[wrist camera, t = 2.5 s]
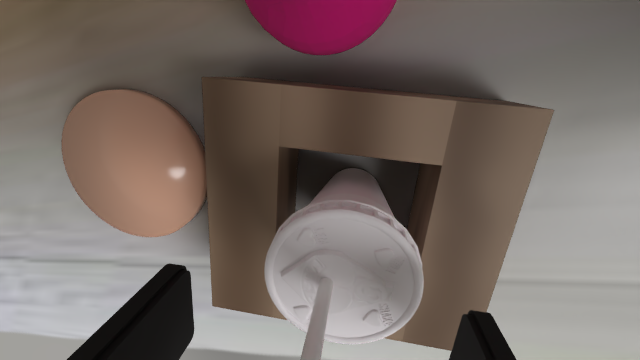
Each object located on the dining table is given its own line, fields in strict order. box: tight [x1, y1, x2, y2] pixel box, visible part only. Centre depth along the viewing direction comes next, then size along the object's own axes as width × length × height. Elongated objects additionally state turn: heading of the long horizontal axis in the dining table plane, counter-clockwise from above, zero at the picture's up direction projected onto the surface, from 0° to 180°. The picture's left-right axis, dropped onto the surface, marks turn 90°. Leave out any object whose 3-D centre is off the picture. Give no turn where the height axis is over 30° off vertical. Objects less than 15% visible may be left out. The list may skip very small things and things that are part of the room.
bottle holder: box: [202, 77, 554, 351], centre depth 19 cm, size 16×14×5 cm
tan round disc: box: [62, 89, 207, 237], centre depth 22 cm, size 11×11×1 cm
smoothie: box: [264, 168, 424, 360], centre depth 14 cm, size 6×6×14 cm
